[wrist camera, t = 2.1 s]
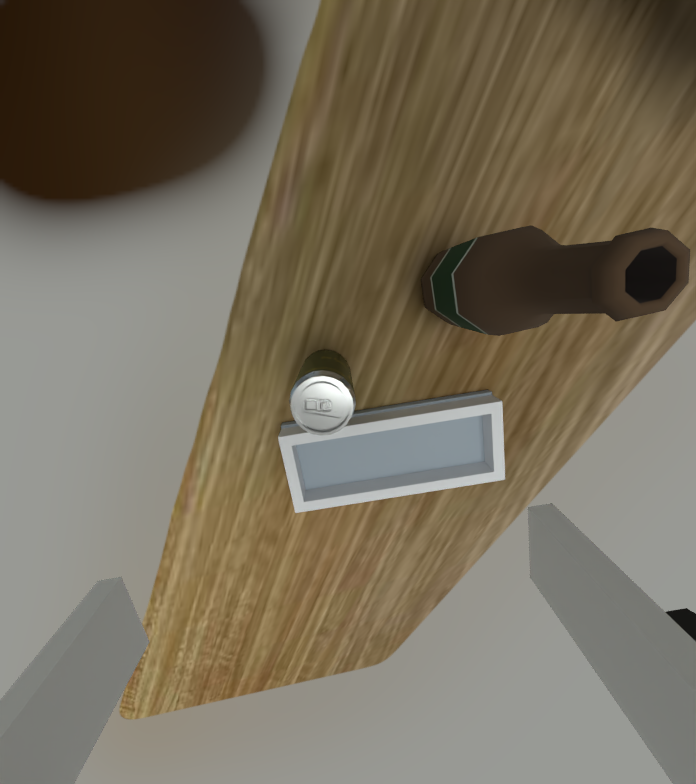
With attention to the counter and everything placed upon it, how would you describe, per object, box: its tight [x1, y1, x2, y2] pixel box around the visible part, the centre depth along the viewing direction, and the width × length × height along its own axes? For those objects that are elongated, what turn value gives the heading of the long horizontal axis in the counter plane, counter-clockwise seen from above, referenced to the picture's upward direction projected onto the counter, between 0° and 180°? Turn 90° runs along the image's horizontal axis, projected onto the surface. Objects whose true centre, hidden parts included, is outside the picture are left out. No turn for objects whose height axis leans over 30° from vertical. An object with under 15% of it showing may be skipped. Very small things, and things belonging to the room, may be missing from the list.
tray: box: [278, 390, 505, 513], centre depth 40 cm, size 10×24×4 cm, turn 99°
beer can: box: [289, 350, 356, 436], centre depth 33 cm, size 5×5×12 cm
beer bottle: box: [421, 226, 690, 336], centre depth 25 cm, size 8×8×24 cm
